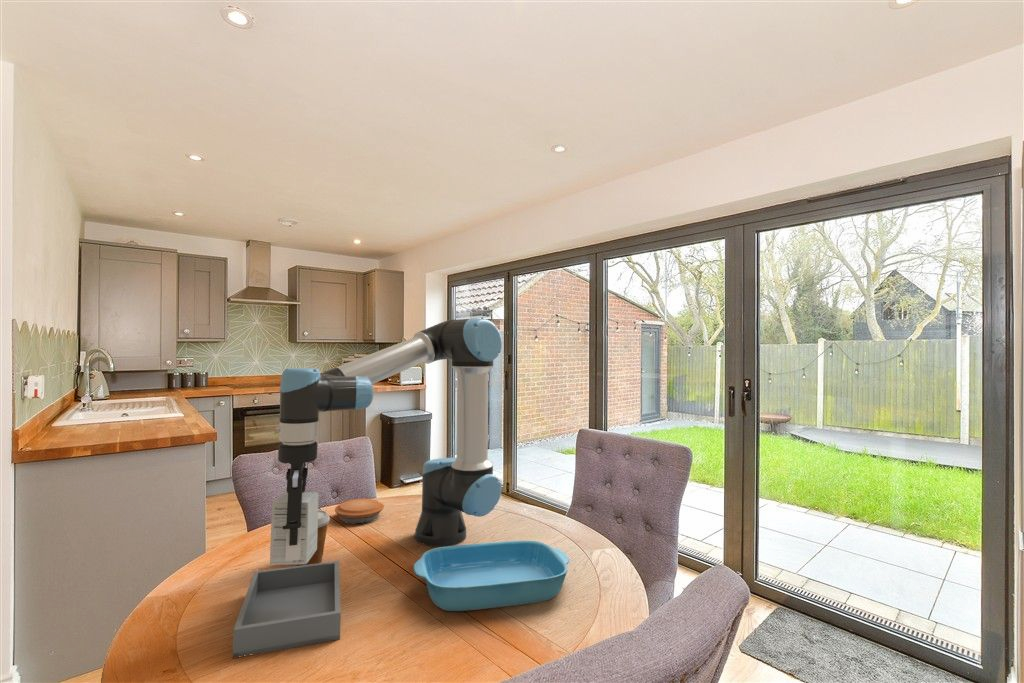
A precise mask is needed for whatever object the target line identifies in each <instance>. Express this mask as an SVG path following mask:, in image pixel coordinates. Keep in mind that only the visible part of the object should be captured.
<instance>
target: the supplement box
mask: <svg viewBox="0 0 1024 683" xmlns="http://www.w3.org/2000/svg"><path fill="white" fill-rule="evenodd" d="M319 495H320V494H319V492H317V491H305V492H304V493H302V506H301V526H302V528H301V557H300V560H294V561H285V558H286V529H283V526H286V524H287V504H288V493H287V491H286V492H283V493H282V494H281V495H280V496H278V497H277V498H276V499H275V500H273V501H272V502H271V519H270V520H271V523H270V545H269V546H270V548H269V550H270V551H269V552H270V553H269V554H270V555H269V565H272V566H280V565H281V566H282V565H283V566H285V565H290V566H291V565H294V566H296V565H297V564H307V563H308V561H309V560H310V558H311V557H312V556H313V554H314V553H315V552H316V550H317V532H318V510H319ZM292 522H296V521H292Z"/></svg>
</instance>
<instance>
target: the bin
mask: <svg viewBox="0 0 1024 683" xmlns="http://www.w3.org/2000/svg"><path fill="white" fill-rule="evenodd" d="M340 582H341V580H340V560H335V561H326V562H320V563H317V564H309V565H301V566H298V565H294V566H286V567H285V566H284V567H279V568H271V569H263V570H262V569H261V570H255V571H253V573H252V576H251V579H250V582H249V585H248V587H247V591H246V592H245V593H246V594H245V597H244V599H243V601H242V605H241V607H240V610H239V614H238V617H237V618H236V622H235V625H234V627H233V632H232V634H233V635H232V636H233V638H232V659H235V658H234V657H238V658H240V657H239V656H244V655H249V656H251V655H250V654H255V655H259V654H258V653H261V654H266V653H271V652H277V651H282V650H288V649H292V648H293V649H294V648H299V647H304V646H309V645H316V644H320V643H321V644H323V643H326V642H331V641H337V640H341V614H342V611H341V586H340V585H341V583H340ZM265 652H266V653H265ZM244 657H245V656H244Z"/></svg>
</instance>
